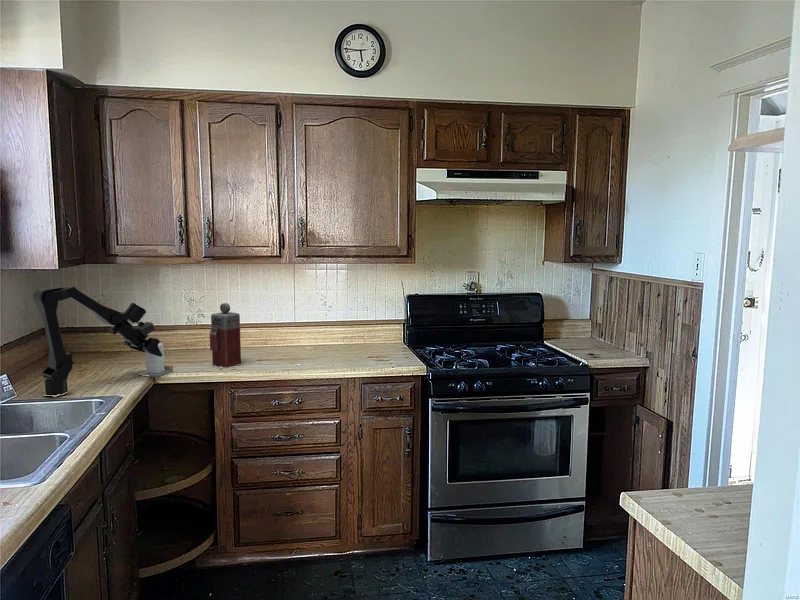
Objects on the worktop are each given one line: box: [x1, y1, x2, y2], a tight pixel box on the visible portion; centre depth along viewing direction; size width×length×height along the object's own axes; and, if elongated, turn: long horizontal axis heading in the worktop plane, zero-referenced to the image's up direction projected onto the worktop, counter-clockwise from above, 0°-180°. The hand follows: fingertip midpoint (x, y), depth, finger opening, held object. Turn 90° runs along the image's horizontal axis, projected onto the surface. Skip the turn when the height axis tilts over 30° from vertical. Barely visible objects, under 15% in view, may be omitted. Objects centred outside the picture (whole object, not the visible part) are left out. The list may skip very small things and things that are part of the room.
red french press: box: [209, 302, 242, 368], centre depth 256 cm, size 9×11×28 cm
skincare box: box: [145, 343, 165, 373], centre depth 241 cm, size 6×4×12 cm
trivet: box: [139, 364, 174, 379], centre depth 242 cm, size 10×9×3 cm
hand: (155, 354), depth 241 cm, fingers open, 9 cm apart
